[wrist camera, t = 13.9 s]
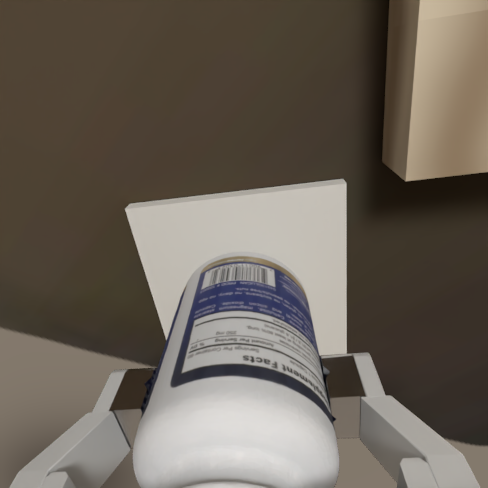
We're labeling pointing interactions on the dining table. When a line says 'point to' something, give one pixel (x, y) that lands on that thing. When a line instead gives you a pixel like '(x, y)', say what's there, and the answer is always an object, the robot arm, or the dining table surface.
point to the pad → (251, 245)
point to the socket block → (436, 88)
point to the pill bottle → (238, 386)
